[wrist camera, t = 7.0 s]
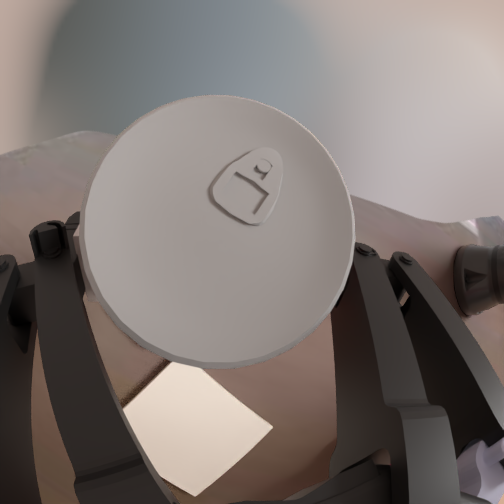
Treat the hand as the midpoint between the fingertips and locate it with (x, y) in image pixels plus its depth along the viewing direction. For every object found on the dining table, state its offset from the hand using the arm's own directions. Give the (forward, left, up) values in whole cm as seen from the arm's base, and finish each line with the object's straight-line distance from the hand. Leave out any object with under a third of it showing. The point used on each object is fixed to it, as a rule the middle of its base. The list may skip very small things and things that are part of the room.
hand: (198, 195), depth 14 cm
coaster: (+14, +14, -16) cm, 26 cm away
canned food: (+2, +3, -4) cm, 5 cm away
